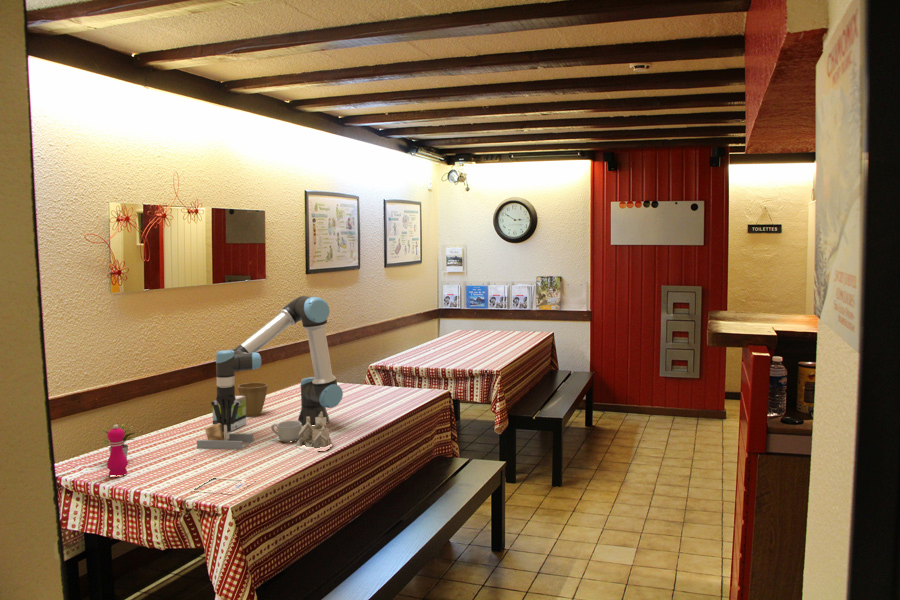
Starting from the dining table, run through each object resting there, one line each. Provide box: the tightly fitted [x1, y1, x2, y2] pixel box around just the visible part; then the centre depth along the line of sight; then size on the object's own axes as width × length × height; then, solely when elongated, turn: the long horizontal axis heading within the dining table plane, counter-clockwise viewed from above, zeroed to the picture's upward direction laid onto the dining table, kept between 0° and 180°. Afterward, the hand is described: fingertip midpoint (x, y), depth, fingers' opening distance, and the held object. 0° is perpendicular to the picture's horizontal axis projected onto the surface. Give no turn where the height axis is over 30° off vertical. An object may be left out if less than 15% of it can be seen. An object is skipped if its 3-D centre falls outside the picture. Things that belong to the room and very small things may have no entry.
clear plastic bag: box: [190, 476, 247, 492], centre depth 249 cm, size 15×1×18 cm
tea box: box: [212, 395, 247, 433], centre depth 332 cm, size 15×10×15 cm
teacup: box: [270, 420, 302, 443], centre depth 309 cm, size 14×11×8 cm
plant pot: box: [237, 382, 268, 417], centre depth 357 cm, size 15×15×16 cm
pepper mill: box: [106, 423, 129, 476], centre depth 262 cm, size 7×7×20 cm
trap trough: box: [196, 432, 255, 450], centre depth 299 cm, size 20×13×4 cm, turn 83°
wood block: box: [204, 423, 228, 441], centre depth 299 cm, size 6×6×8 cm
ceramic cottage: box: [296, 412, 333, 448], centre depth 298 cm, size 16×16×15 cm
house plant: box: [100, 422, 139, 459], centre depth 278 cm, size 14×14×16 cm
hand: (226, 438), depth 298 cm, fingers closed
